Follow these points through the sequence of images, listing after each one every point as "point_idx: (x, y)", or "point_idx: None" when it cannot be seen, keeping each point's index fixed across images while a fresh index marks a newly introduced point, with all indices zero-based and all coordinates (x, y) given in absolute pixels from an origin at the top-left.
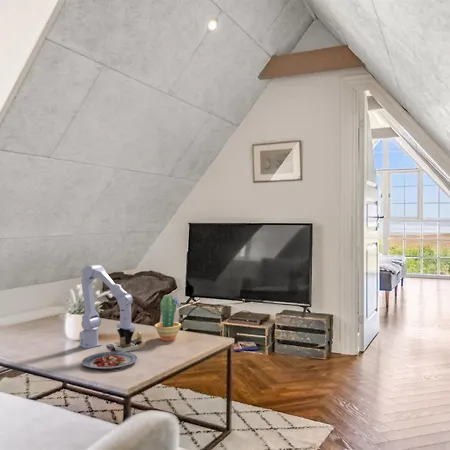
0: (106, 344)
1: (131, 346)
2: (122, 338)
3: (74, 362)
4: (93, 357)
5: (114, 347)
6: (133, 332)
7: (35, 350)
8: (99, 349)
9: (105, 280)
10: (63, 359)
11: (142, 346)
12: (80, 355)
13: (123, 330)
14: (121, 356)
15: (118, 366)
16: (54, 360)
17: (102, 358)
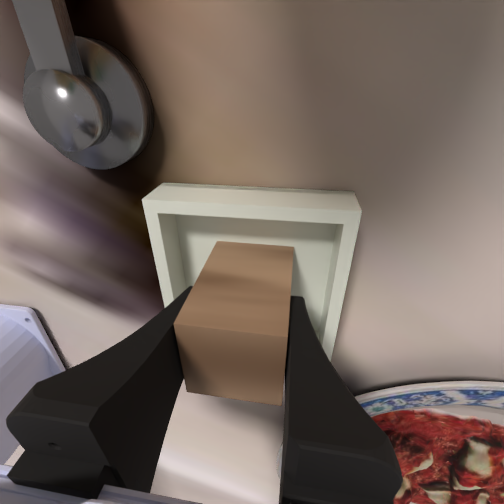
0: (11, 269)
1: (334, 284)
2: (244, 397)
3: (270, 491)
4: None
5: None
6: (379, 435)
7: (15, 461)
8: None
9: None
10: (197, 484)
11: (276, 51)
12: (184, 443)
13: (133, 448)
14: (423, 406)
15: None
16: (189, 496)
17: (395, 498)
